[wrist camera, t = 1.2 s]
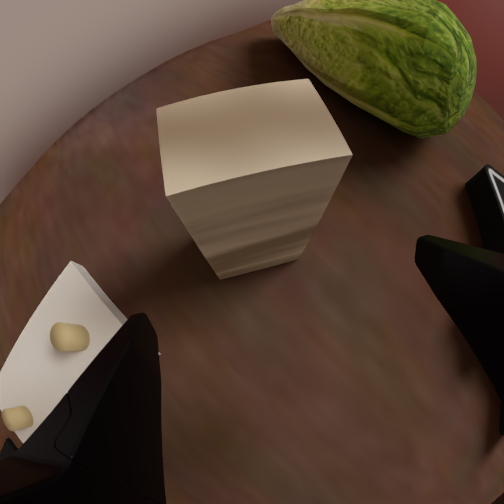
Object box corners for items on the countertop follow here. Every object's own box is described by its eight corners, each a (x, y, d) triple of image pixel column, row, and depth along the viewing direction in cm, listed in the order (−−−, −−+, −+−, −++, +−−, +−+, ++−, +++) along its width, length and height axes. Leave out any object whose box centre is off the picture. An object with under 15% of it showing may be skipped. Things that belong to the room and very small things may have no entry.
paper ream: (299, 259, 21) (352, 154, 8) (219, 279, 20) (166, 196, 8) (282, 208, 22) (306, 75, 10) (207, 227, 22) (156, 105, 9)
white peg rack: (161, 353, 19) (136, 357, 15) (59, 469, 15) (33, 483, 11) (83, 266, 21) (52, 251, 17) (3, 391, 17) (-26, 393, 13)
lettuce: (248, 95, 32) (325, 68, 37) (435, 175, 19) (473, 125, 23) (228, -10, 20) (318, -14, 25) (464, 2, 7) (489, 20, 12)
